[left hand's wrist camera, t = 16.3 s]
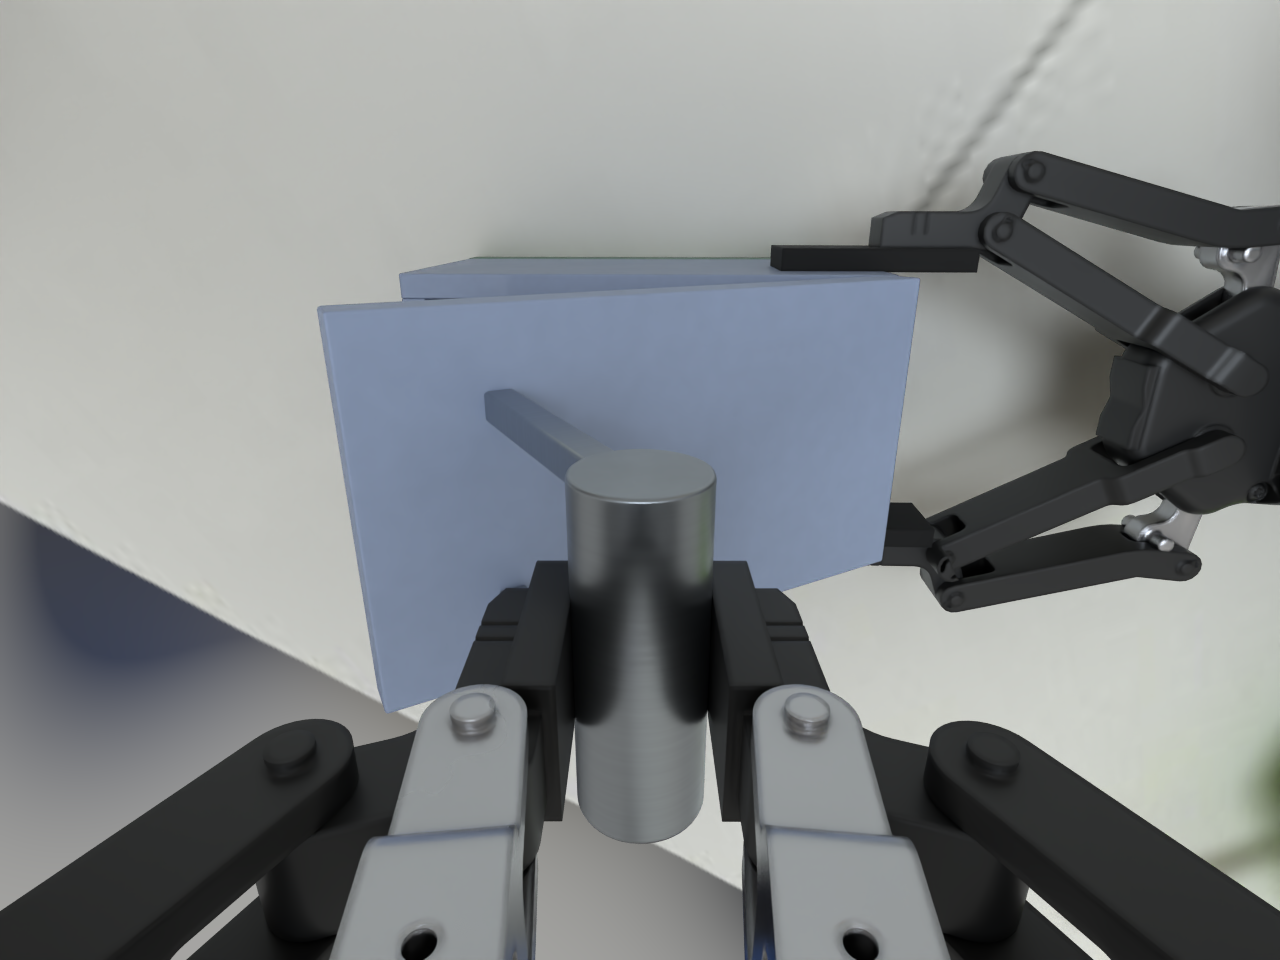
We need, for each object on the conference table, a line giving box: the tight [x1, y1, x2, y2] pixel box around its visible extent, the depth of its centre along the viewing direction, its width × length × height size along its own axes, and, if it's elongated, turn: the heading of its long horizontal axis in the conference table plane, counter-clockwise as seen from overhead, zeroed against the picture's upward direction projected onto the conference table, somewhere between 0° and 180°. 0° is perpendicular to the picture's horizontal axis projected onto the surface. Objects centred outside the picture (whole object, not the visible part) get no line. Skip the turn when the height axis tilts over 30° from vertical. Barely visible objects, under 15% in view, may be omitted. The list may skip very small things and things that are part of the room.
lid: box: [317, 276, 920, 844], centre depth 16 cm, size 17×10×9 cm
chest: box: [399, 257, 898, 301], centre depth 28 cm, size 16×10×10 cm, turn 90°
